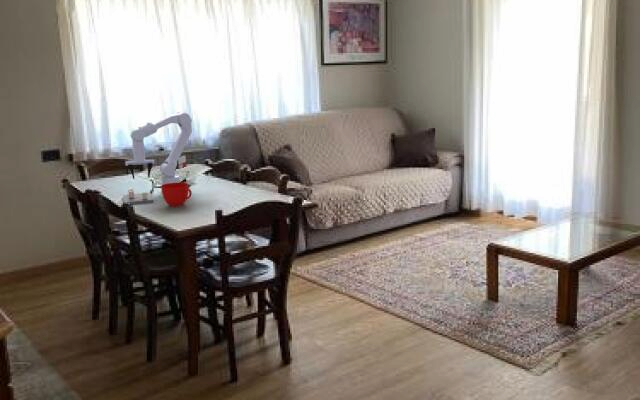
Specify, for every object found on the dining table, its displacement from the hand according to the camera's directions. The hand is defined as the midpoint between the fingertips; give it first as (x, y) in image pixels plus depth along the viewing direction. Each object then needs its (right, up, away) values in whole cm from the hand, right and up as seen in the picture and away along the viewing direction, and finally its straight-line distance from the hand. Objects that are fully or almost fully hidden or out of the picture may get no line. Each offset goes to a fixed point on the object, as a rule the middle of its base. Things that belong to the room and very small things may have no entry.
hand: (141, 178), depth 317 cm
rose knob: (-2, -10, -10) cm, 14 cm away
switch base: (+1, -12, -9) cm, 14 cm away
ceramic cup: (+25, -14, -22) cm, 37 cm away
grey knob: (-4, -9, -4) cm, 11 cm away
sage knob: (+6, -11, -13) cm, 18 cm away
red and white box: (+12, -1, +39) cm, 41 cm away
